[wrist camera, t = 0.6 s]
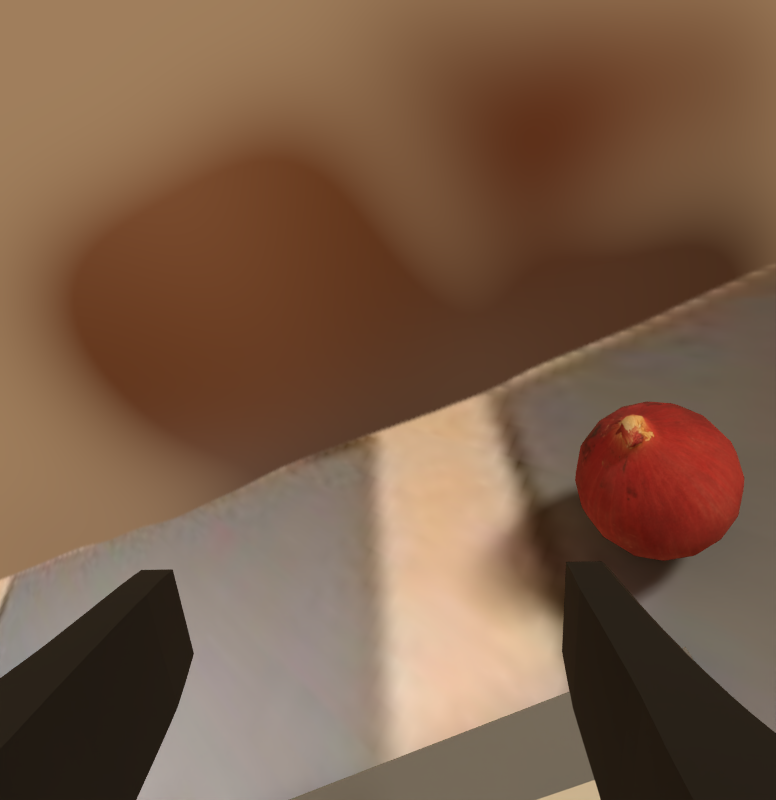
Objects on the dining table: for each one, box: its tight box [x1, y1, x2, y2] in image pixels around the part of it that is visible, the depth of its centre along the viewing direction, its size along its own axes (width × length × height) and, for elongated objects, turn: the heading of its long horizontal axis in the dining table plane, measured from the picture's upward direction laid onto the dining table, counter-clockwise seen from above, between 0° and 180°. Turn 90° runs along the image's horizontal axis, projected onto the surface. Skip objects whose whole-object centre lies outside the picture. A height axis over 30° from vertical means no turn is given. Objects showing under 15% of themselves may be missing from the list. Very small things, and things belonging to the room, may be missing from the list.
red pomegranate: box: [575, 402, 744, 561], centre depth 24 cm, size 6×6×8 cm
